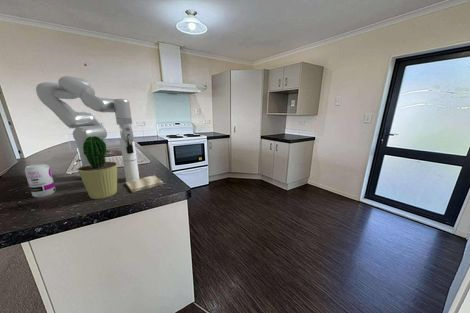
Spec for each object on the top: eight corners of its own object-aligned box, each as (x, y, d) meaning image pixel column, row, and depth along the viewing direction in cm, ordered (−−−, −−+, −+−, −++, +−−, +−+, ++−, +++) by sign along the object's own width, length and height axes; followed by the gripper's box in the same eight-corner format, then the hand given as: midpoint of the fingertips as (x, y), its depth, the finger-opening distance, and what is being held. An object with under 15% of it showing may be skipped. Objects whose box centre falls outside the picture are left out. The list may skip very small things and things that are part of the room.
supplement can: (55, 189, 94) (47, 162, 90) (57, 193, 89) (49, 165, 85) (32, 194, 88) (23, 165, 84) (33, 199, 83) (23, 169, 79)
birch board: (132, 192, 91) (131, 189, 90) (125, 184, 101) (125, 181, 100) (163, 184, 101) (162, 181, 101) (154, 177, 111) (154, 175, 111)
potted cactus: (93, 204, 79) (79, 138, 71) (78, 196, 86) (63, 135, 79) (127, 191, 92) (118, 134, 84) (112, 185, 99) (102, 132, 92)
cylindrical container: (129, 182, 103) (122, 140, 97) (124, 179, 108) (117, 139, 101) (141, 178, 109) (136, 138, 103) (136, 176, 113) (130, 137, 107)
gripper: (135, 122, 96) (140, 153, 100) (128, 120, 108) (132, 148, 112) (119, 122, 91) (124, 155, 95) (113, 121, 103) (118, 150, 108)
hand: (128, 151), depth 104 cm, fingers closed on cylindrical container, 7 cm apart
